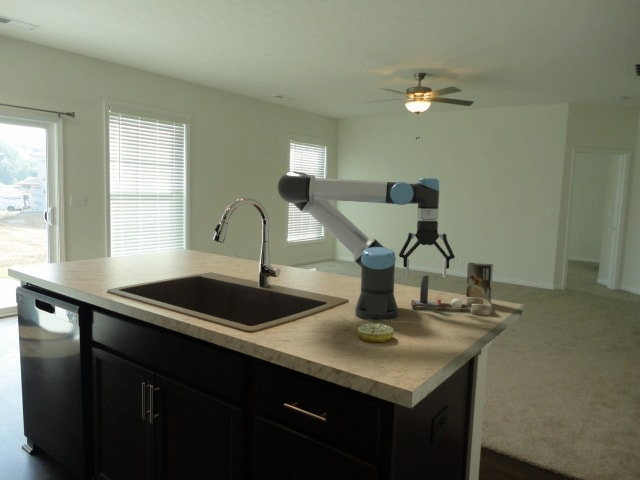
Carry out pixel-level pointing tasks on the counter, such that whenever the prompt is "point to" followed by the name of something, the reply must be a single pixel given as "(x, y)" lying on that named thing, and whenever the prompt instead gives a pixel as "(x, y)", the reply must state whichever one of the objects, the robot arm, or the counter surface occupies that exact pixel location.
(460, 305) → the ball
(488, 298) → the coffee box
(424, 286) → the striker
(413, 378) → the counter surface
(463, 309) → the rail
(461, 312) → the pitch mat
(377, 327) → the decorated donut
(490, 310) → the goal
